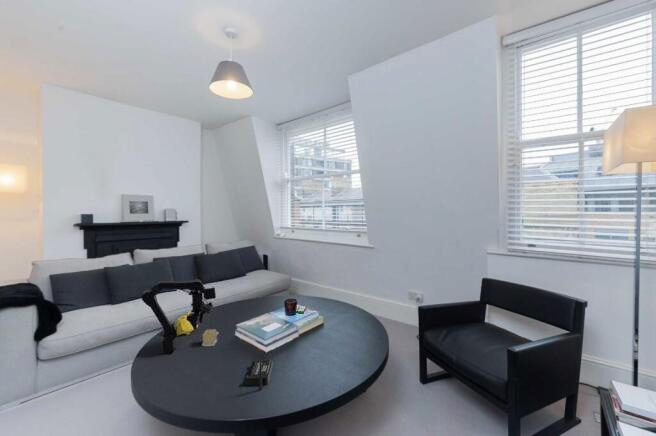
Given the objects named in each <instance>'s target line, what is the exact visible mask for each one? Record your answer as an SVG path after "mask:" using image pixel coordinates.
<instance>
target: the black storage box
mask: <svg viewBox="0 0 656 436" xmlns="http://www.w3.org/2000/svg"><path fill="white" fill-rule="evenodd" d="M273 365H274V359H262V355H261V354H259V359H252V363H251V364H250V367H249V370H248V372H247V375H246V377H245V378H244V379H245V387H247V386H259V391H260V392H261V391H263V386H268V385H269V382H270V378H271V373H272V370H273V367H274V366H273Z"/></svg>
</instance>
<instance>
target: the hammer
mask: <svg viewBox="0 0 656 436" xmlns="http://www.w3.org/2000/svg"><path fill="white" fill-rule="evenodd" d="M218 335H219V331H216V340H215V341H214V343H210V344H203V342H202V344H201V347H214V346H216V344H217V343H218Z"/></svg>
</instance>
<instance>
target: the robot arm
mask: <svg viewBox="0 0 656 436" xmlns="http://www.w3.org/2000/svg"><path fill="white" fill-rule="evenodd" d="M177 289H178V290H183V289H184V290H189V292H188V296H191V299H192V300H191V301H192V302H191V303H190V306H192V309H191V310H190V314H189V315H188V316H187V315H186V316H187V317H186V319H187V321H189V322H190V324H191V325H192V327H193V328H194V330H197V328H198V327H197V325H198V321H199V323H200V324H202V323H203V320H204V315H205V313H206V314H211V312H212V310H213V309H214V305H213V302H210V301H209V302H208V303H205V301H207V300H214V299H216V297H217V296H216V287H213V286H212V287H208V288H206V287H205V286H204V285H203V282H202V281H201V280H200V279H197V278H196V279H191V280H188V281H187V280H186V281H182V280H181V281H178V280H177V281H170V280H169V281H167V280H166V281H165V280H160V281H159V282H158V283H157V284H155V285H154V286H152V287H151V288H149V289H145V291H144V292H143V293H142V296H141V301H143V303H144V304H145V305H146V306H148V307H149V308H150V309H151V311H152V313H154V315H155V317H156V318H157V320H158V322H159V323H160V325H161V327H162V329H163V332H164V334H163V335H162V338H161V344H162V351H161V352H160V354H159V355H171V354H173V353H174V352H175V350H177V347H175V341H174V340H175V339H176V338H177V330H178V327H177V326H176V325H175V324H176V322H173V323H172V322H171V321H170V320H169V318H168V316H167V315H166V313H165V312H164V310H163V309H162V307H161V305H160V304H159V302H158V298H157V295H158V294H159V293H160V292H161V291H162V290H177ZM203 299H205V301H204V300H203Z"/></svg>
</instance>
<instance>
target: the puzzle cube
mask: <svg viewBox="0 0 656 436" xmlns="http://www.w3.org/2000/svg"><path fill="white" fill-rule="evenodd" d="M296 306H297V310H296V313H298V314H304V312H305V311H306V312H307V306H306V305H305V306H304V305H303V306H298V305H296Z"/></svg>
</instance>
